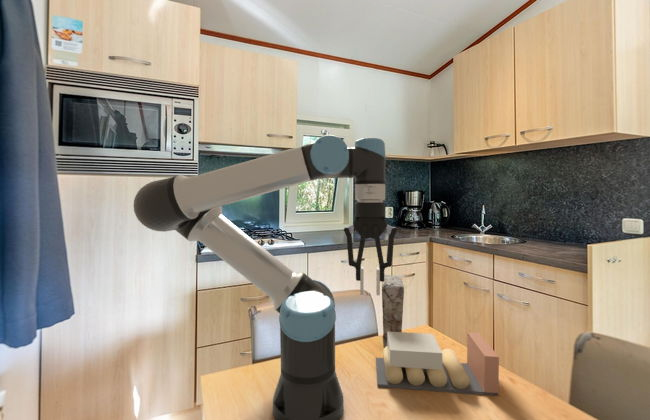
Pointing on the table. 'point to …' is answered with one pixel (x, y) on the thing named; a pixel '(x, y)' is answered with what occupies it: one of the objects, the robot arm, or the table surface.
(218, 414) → the table surface
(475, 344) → the stop block
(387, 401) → the table surface
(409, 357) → the slab
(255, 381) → the table surface
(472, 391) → the roller bed
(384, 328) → the stone block
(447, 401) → the table surface
